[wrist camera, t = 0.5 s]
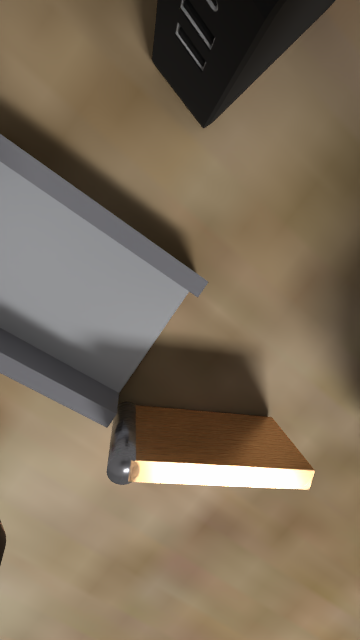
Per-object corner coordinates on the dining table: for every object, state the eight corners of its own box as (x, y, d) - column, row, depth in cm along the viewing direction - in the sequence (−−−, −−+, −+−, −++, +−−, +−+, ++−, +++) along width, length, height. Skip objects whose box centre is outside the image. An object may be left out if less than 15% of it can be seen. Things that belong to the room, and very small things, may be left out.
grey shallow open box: (197, 276, 19) (208, 281, 16) (111, 402, 20) (107, 427, 18) (-19, 123, 16) (-53, 96, 13) (-109, 284, 17) (-159, 291, 14)
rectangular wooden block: (112, 422, 20) (105, 483, 15) (115, 400, 20) (108, 455, 15) (267, 434, 22) (308, 492, 17) (272, 414, 22) (315, 467, 17)
